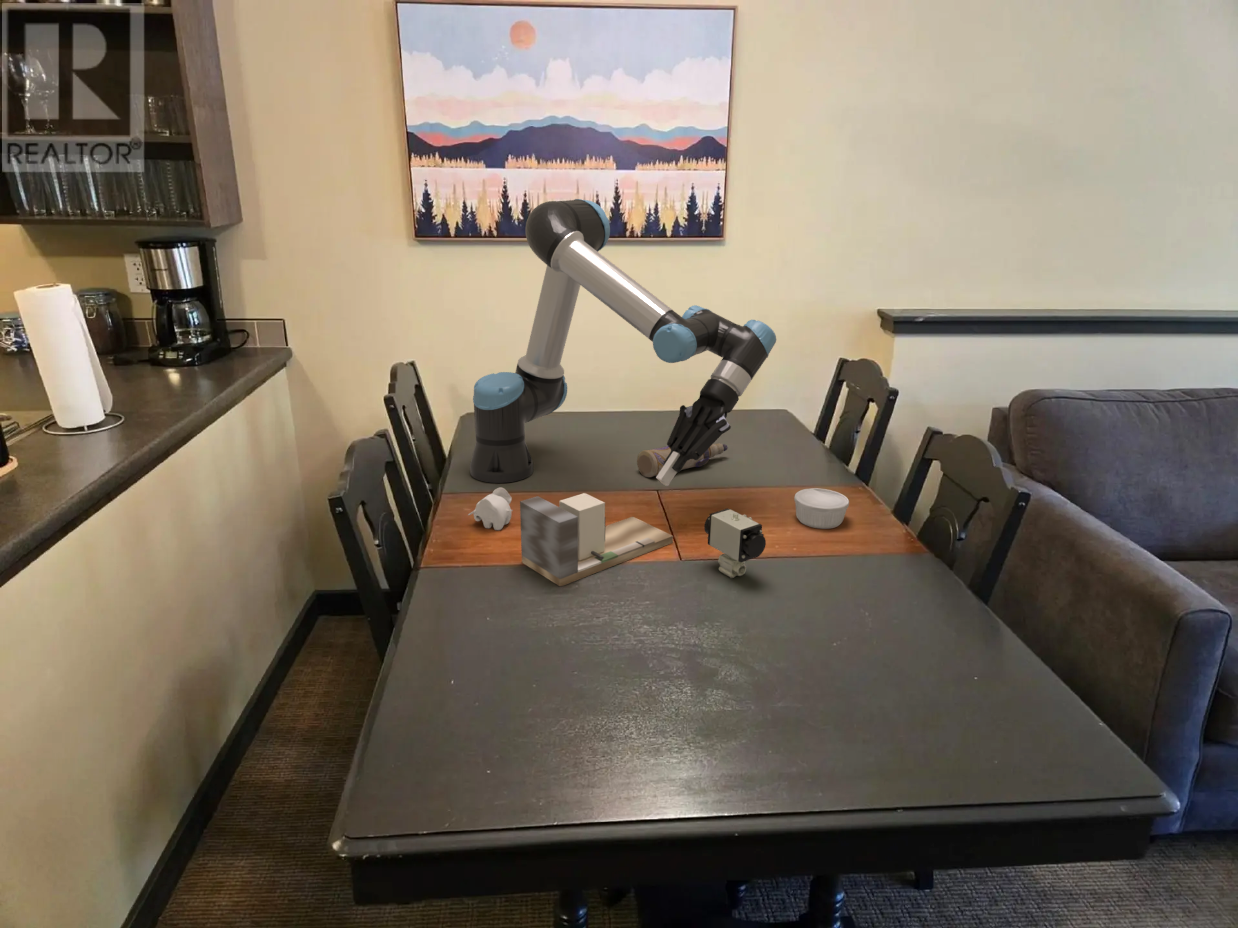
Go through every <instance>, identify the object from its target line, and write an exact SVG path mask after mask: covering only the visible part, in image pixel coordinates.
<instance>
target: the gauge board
mask: <svg viewBox="0 0 1238 928" xmlns="http://www.w3.org/2000/svg"><path fill="white" fill-rule="evenodd" d="M519 510H520V511H519V513H520V514H519V515H520V516H519V517H520V540H521V541H520V543H521V544H520V545H521V547H520V548H521V564H523V565H525V566H527V567H528V568H529V569H531V570H533V571H535V572H536V573H538V574H539V575H541V576H542V577H544V578H545V579H547V580H549V581H551V582H552V583H554V584H556V585H557V586H559V587H561V588H562V587H563V586H566V585H568V584H571V583H574V582H576V581H579V580H581V579H584V578H586V577H589V576H591V575H593V574H595V573H599V572H602V571H605V570H607V569H609V568H611V567H614V566H616V565H619V564H621V563H624V562H626V561H629V560H632V559H635V558H637V557H640V556H643V555H645V554H647V553H650V552H653V551H654V550H657V549H660V548H664V547H665V546H667V545H670V544H673V543H674V542H673V540H674V535H672V534H670V533H668V532H666V531H664V530H661V529H660V528H658V527H655V526H653V525H651V524H649V523H647V522H645V521H643V520H641V519H638V518H636V517H634V516H630V517H628V518H624V519H622V520H617V521H616V522H613V523H610V524H607V525H605V548H604V552H601V553H598V554H600V555H602V556H603V557H604V559H602V560H601V559H599V558H597V557H596V556H594V555H593V556H590V557H588V558H585V559H582V560H578V517H577V516H575V515H573V514H571V513H570V512H568V511H566V510H564V509H562V508H560V507H559V506H558V505H556V504H554V503H552V502H550V501H548V500H546V499H544V498H543V497H540V496H538V495H537V496H534V497H529V498H527V499H523V500H520V501H519Z"/></svg>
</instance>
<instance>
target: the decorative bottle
mask: <svg viewBox="0 0 1238 928" xmlns="http://www.w3.org/2000/svg"><path fill="white" fill-rule="evenodd" d="M728 449H729V447H728V445H727V444H725V443H713V444H712V445H711V446H710V447H709V448H708V449H707V451H706V452H705V453H704V454H703V455H702V456H701V457H700V458H699V459H698V460H694V459H690V460H688V461H687V462H686V463H685V465H684V466H683V468H682V469H681V471H682V470H683V471H684V470H686V469H691V468H701V467H703V466H705V465H706V464H707V463H708V462H709V460H710V459H712V458H714V457H715V456H717V455H722V454H723V453H724V452H725V451H727V450H728ZM670 452H671V449H670V448H669V446H668V445H666V446H662V447H658V448H657V447H656V448H652V449H649V450H648V449H644V450H641V451H640V452H639V453H638V454H637V459H636V464H637V468H638V471H639V472H640V474H641V475H642V476H643V477H645V478H653V477H657V475H658V474H659V472H660V471H661V469H662V468H663V466H664V461H665V460H666V458H667V457H668V455H669V454H670Z"/></svg>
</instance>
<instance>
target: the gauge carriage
mask: <svg viewBox="0 0 1238 928" xmlns="http://www.w3.org/2000/svg"><path fill="white" fill-rule="evenodd" d="M558 505H559V506H558V507H560V508H562V509H564V510H566V511H568V512H570V513H571V514H573V515H575V516H577V517H578V560H582V559H585V558H588V557H590V556H593V555H594V556H596V557H597V558H599V559H601V560H602V559H604V557H603V556H602V555H600V554H598V553H601V552H604V548H605V526H606V514H605V513H606V502H605V501H602V500H600V499H598V498H596V497H594V496H592V495H590V494H588V493H586V492H583V493H581V494H577V495H573V496H570V497H567V498H564V499H560V500H559V504H558Z"/></svg>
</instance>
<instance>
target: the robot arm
mask: <svg viewBox="0 0 1238 928" xmlns="http://www.w3.org/2000/svg"><path fill="white" fill-rule="evenodd" d="M524 229H525V238H526V242H527V245H528V246H529V248H530V249H531V251H532V252H533V253H534V254H535V256H536V257H537V258H538V259H540V260H541V261H542V262H543V263H544V264H545V265H546V267H545V271H544V276H543V281H542V286H541V290H540V293H539V297H538V303H537V306H536V310H535V315H534V319H533V323H532V326H531V331H530V335H529V340H528V345H527V348H526V353H525V354H524V356H521V357H519V359H518V360H517V364H516V368H515V372H511V371H503V372H502V371H500V372H499V371H498V372H497V373H489V374H487V375H484V376H482V377H480V378H478V380H476V382H475V383H474V386H473V397H472V401H473V402H472V403H473V414H474V429H475V430H474V431H475V445H474V449H473V452H472V457H471V459H470V461H469V462H470V463H469V472H470V473H469V474H470V476H471V477H472V478H473V479H475V480H477V481H481V482H484V483H485V482H486V483H491V484H492V483H495V484H504V483H515V482H518V481H521V480H524V479H527V478H529V477H530V476H531V475H532V474H533V473H534V462H533V458H532V456H531V453H530V450H529V448H528V445H527V443H526V434H525V433H526V431H525V430H526V429H525V428H526V425H525V424H527V423H529V422H531V421H534V420H537V419H539V418H542V417H545V416H548V415H550V414H552V413H554V412H555V411H556V410H558V409H559V408H560V407H562V405H563V404H564V402H565V401H566V398H567V395H568V383H567V382H566V377H565V369H564V368H563V366H562V364H561V362H562V357H563V353H564V349H565V346H566V343H567V339H568V334H569V330H570V328H571V327H570V326H571V323H572V319H573V315H574V311H575V308H576V303H577V301H578V296H579V292H580V288H581V287H582V288H583V289H585V290H586V291H588V293H590V294H591V295H593V296H594V297H595V298H597V300H599V301H600V302H601V303H603V304H604V305H605V306H606V307H608V308H609V309H610V310H612V311H613V312H614V313H615V314H617V315H618V316H619V317H620V318H622V319H623V320H624V321H626V322H627V323H628V324H629V325H631V326H632V327H633V328H634V329H636V330H637V331H638V332H640V333H641V335H643V336H645V337H646V338H647V339H648V340H649V341H651V342H652V347H653V348H652V349H653V350H654V353H656V356H657V358H659V360H661V361H663V362H665V363H668V364H675V363H679V362H685V361H687V360H689V359H690V358H692V357H695V356H697V355H700V354H702V353H705V352H707V351H708V352H711V353H713V354H714V355H716V356H718V357H721V360H720V361H719V363H718V365H717V366H716V368H715V369H714V371H713V372H712V373H711V375H710V378H709V379H707V381H706V382H705V383H704V385H703V386H702V387H701V390H700V391H699V397H698V399H697V400H695V401H694V402H693V403H692V405H690V406H686V405H685V404H682V405H680V407H679V414H678V417H677V418H676V422H675V424H674V426H673V429H672V431H671V433H670V435H669V437H668V440H667V443H666V446H669V448H670V449H671V452H670V454H669V455H668V457H667V458H666V460H665V461H664V466H663V468H662V469H661V471H660V472H659V474H658V475H656V476H655V478H656V479H657V481H659V482H660V483H661V485H664V486H666V487H668V486H669V485H670V484H671V482H672V480H673V479H674V477H675V476H676V474H677V473H680V472H681V471H682V470H681V469H682V468H683V466H684V465H685V463H686V462H687V461H688V460H690V459H694V460H698V459H699V458H700V457H701V456H702V455H703V454H704V453H705V452H706V451H707V449H708V448H709V447H710V446H711V445H712V444H715V442H716V441H717V440H718V439H719V438H720V437H721V436H722V435H723V434H725V433H727V432H728V431H729V430H731V427H732V426H731V425H730V423H728V421H727V419H726V418H728V417H727V416H728V413H731V412H732V411H733V409H734V407H736V404H738V401H739V400H740V399H739V397H742V396H743V394H744V392H745V391H746V390H747V388H748V386H749V384H751V382H752V380H753V379H754V377H755V376H756V374H757V373H758V372H759V370H760V368H761V367H762V365H763V364H764V362H765V361H766V360H767V358H769V355H770V353H771V351H772V349H773V348H774V346H775V344H776V343H777V336H776V333H775V332H774V330H773V329H772V328H771V327H770V326H769V325H768V324H766V323H764V322H763V321H760V320H756V319H750V320H748V321H746V323H744V324H743V325H740V324H737V323H735V322H733V321H731V320H730V319H727V318H726V317H723V316H721V315H719V314H718V313H716V312H713V311H712V310H711V309H709V308H704V307H702V306H699V305H695V304H694V305H691V306H689V308H687V310H685V312H683V314H682V315H680V314H678V313H677V312H676V311H675V310H673V309H672V308H671V307H670V306H668V305H667V304H665V303H664V302H663V301H662V300H660V299H659V298H658V297H657V296H655V295H654V294H653V293H651V292H650V291H649V290H647V288H645V287H643V286H642V284H640V283H639V282H638V281H636V279H633V278H632V277H631V276H629V274H627V273H625V272H624V271H623V270H622V269H620V268H619V267H618V266H617V265H616V264H614V263H613V262H612V261H611V260H609V259H607V258H606V257H605V256H604V255H602V254H601V253H600V252H599V251H601V250H602V249H603V248H605V247H606V245H607V243H608V241H609V239H610V234H611V227H610V221H609V218H608V217H607V215H606V212H605V210H604V209H603V208H602V207H601V206H600V205H599V204H597V203H596V202H594V201H592V200H587V199H582V198H575V199H570V200H569V199H568V200H550V201H545V202H543V203H540V204H538V205H537V206H536V207H534V208H533V210H532V211H531V212H530V214H529V215H528V217H527V220H526V222H525V228H524Z"/></svg>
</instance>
